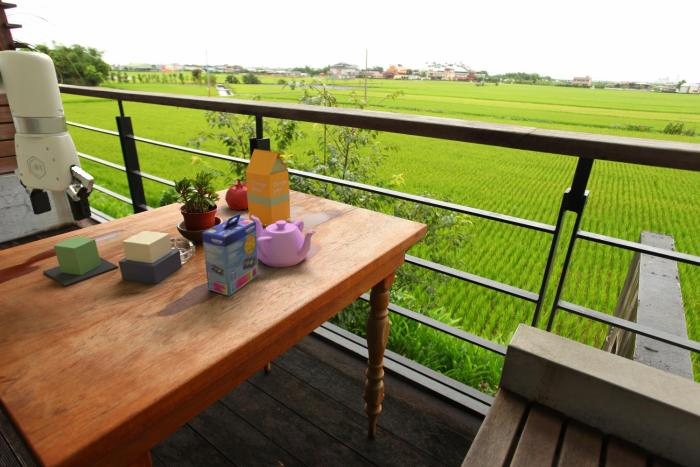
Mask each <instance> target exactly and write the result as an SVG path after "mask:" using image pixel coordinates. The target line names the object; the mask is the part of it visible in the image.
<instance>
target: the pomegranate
mask: <svg viewBox="0 0 700 467" xmlns="http://www.w3.org/2000/svg"><path fill="white" fill-rule="evenodd" d="M227 186H228V190H226V193H225V196H224V200H225V202H226V204H227V206H228V207H229V208H230V209H232V210H233V211H234V210H235V211H242V210H241V209H244V210H243V211H245V210H249V208H248V199H247V184H246V180H245V181H243V182H242V180H241V178H237V179H236V184H234V183H229V184H227ZM229 186H230V187H229ZM247 208H248V209H247Z"/></svg>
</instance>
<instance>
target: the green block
mask: <svg viewBox="0 0 700 467" xmlns="http://www.w3.org/2000/svg"><path fill="white" fill-rule="evenodd" d="M53 249H54V252H55V255H56V259H57V263H58V266H60V269H61V272H63V273H70V274H76V275H83V274H85V273H87V272H88V271H90V270H92V269H94V268H96V267H98V266H100V265H101V261H100V257H101V256H100V254H99V250H98V246H97V242H96V238H89V237H83V236H75V235H74V236H73V237H70V238H68V239H65V240H63V241H61V242H58V243H56V244H54V245H53Z"/></svg>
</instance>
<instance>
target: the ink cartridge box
mask: <svg viewBox="0 0 700 467" xmlns="http://www.w3.org/2000/svg"><path fill="white" fill-rule="evenodd" d="M241 216H242V212H238V213H237V214H235V215H233V216H231V217H229V218H228V219H227V220H225V221H223V222H222V223H219V224H216V225H214V226H212V227H210V228H207V229H206V230H204V231H203V232H201V235H202V236H201V237H202V245H203V253H204V262H205V271H206V280H207V289H208V291H212V292H215V293H218V294H221V295H223V296H227V297H231V295H233V294H235V293H236V292H237V291H239V290H240V289H241V288H242V287H244V286H245V285H247V284H248V283H249V282H251V281H253V280H254V279H256V278H257V277H259V263H258V262H259V261H258V260H259V259H258V257H257V237H256V221H253V220H249V218H243V217H241Z"/></svg>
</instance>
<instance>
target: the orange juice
mask: <svg viewBox="0 0 700 467" xmlns="http://www.w3.org/2000/svg"><path fill="white" fill-rule="evenodd" d="M289 178H290V177H289V169H288V167H287V166H286V164H285V162H284V161H283V159H282V156H281V155H280V153H279V152H278V151H273V150H264V149H257V148H254V149H253V152H252V155H251V157H250V160H249V162H248V164H247V167H246V169H245V181H246V182H245V183H246V184H247V199H248V208H249V209H248V220H253V218H252V217H251V215H254V216H256V217H257V218H258V219H259V220H260V222H261V223H262V224H261V225H262V226H264V227H267V226H269V225H271V224H275V223H276V221H280V220H283V221H285V220H286V223H288V222H290V221H291V203H290V201H291V199H290V198H291V197H290V179H289ZM289 218H290V219H289ZM287 219H289V220H287ZM253 221H254V220H253ZM265 224H266V225H265Z"/></svg>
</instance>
